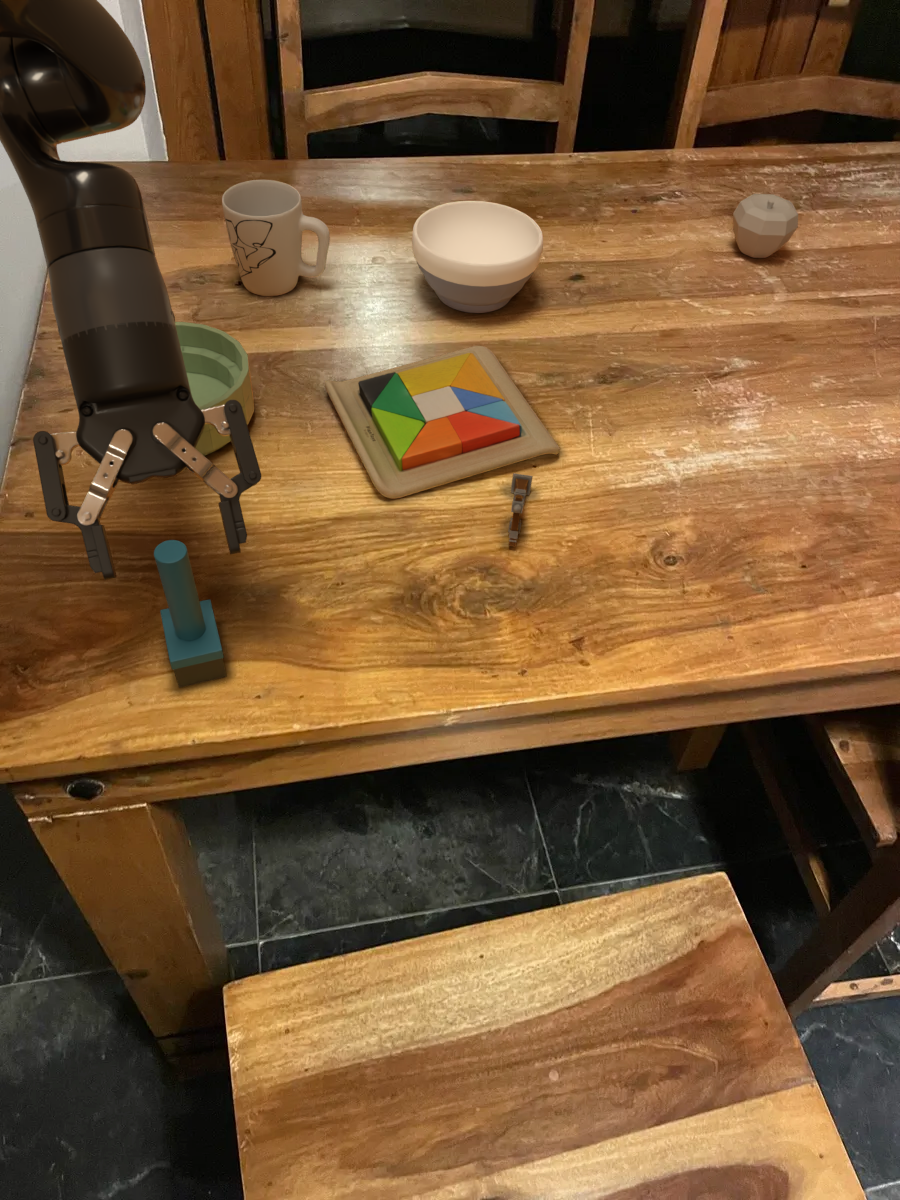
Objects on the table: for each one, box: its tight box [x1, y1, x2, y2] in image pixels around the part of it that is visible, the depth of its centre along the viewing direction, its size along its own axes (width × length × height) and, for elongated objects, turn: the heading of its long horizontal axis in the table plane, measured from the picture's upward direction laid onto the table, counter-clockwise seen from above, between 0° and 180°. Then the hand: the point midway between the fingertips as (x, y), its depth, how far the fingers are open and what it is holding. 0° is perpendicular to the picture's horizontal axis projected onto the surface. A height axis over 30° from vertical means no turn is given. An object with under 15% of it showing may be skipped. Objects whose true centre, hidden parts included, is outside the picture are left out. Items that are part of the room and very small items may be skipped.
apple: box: [732, 193, 799, 259], centre depth 115 cm, size 8×8×7 cm
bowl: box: [411, 200, 544, 314], centre depth 105 cm, size 14×14×8 cm
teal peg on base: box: [153, 539, 228, 689], centre depth 68 cm, size 5×4×12 cm
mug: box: [221, 179, 331, 297], centre depth 104 cm, size 11×8×10 cm
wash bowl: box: [175, 321, 255, 457], centre depth 89 cm, size 15×15×6 cm
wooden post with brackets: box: [507, 473, 533, 547], centre depth 83 cm, size 2×8×4 cm, turn 171°
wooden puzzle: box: [324, 345, 561, 500], centre depth 91 cm, size 18×19×4 cm
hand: (174, 565), depth 65 cm, fingers open, 8 cm apart
